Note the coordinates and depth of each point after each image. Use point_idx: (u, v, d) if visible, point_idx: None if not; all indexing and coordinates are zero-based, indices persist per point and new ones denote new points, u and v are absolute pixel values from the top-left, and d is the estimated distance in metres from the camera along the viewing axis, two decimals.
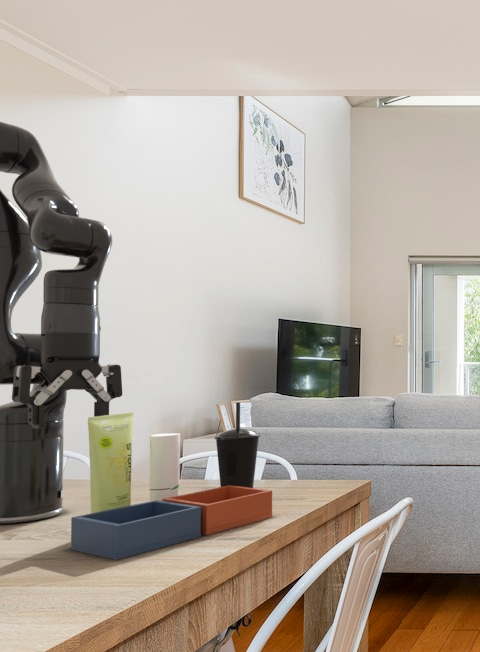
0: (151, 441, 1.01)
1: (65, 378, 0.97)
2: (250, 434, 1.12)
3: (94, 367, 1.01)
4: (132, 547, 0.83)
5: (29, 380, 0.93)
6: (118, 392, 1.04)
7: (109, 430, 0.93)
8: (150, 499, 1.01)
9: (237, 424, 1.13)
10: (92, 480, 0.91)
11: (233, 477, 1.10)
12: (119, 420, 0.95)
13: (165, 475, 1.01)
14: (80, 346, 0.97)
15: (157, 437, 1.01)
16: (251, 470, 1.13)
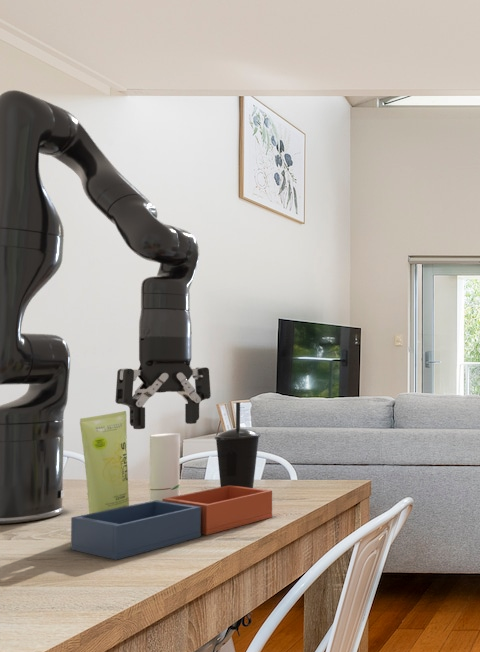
0: (151, 441, 1.01)
1: (162, 381, 1.01)
2: (250, 434, 1.12)
3: (186, 369, 1.05)
4: (132, 547, 0.83)
5: (132, 383, 0.97)
6: (207, 394, 1.08)
7: (102, 430, 0.92)
8: (150, 499, 1.01)
9: (237, 424, 1.13)
10: (88, 481, 0.91)
11: (233, 477, 1.10)
12: (112, 420, 0.94)
13: (165, 475, 1.01)
14: (176, 349, 1.01)
15: (157, 437, 1.01)
16: (251, 470, 1.13)
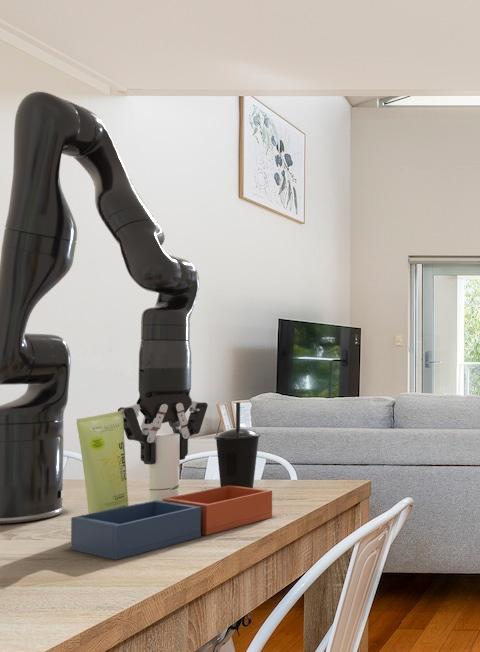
0: None
1: (164, 412, 1.01)
2: (250, 434, 1.12)
3: (186, 399, 1.05)
4: (132, 547, 0.83)
5: (136, 420, 0.98)
6: (196, 429, 1.06)
7: (99, 431, 0.92)
8: (150, 499, 1.01)
9: (237, 424, 1.13)
10: (87, 481, 0.91)
11: (233, 477, 1.10)
12: (109, 420, 0.94)
13: (165, 475, 1.01)
14: (176, 380, 1.01)
15: (157, 437, 1.01)
16: (251, 470, 1.13)
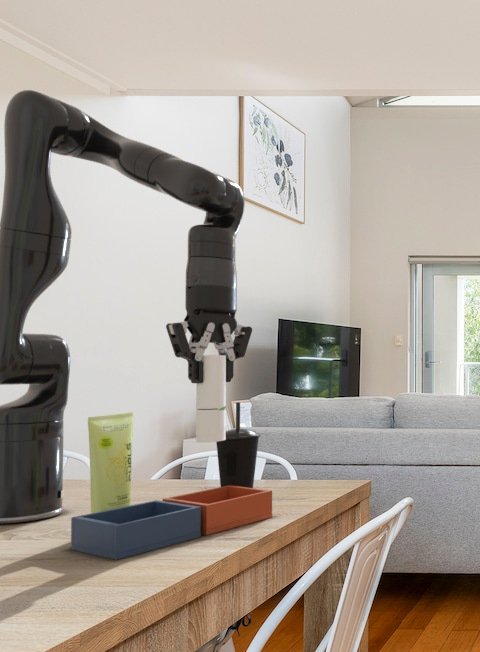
0: None
1: (211, 331, 0.99)
2: (250, 434, 1.12)
3: (231, 321, 1.04)
4: (132, 547, 0.83)
5: (184, 336, 0.96)
6: (242, 352, 1.05)
7: (109, 430, 0.93)
8: (197, 419, 0.99)
9: (237, 424, 1.13)
10: (92, 480, 0.91)
11: (233, 477, 1.10)
12: (119, 420, 0.95)
13: (212, 395, 0.99)
14: (223, 299, 1.00)
15: (204, 356, 0.99)
16: (251, 470, 1.13)
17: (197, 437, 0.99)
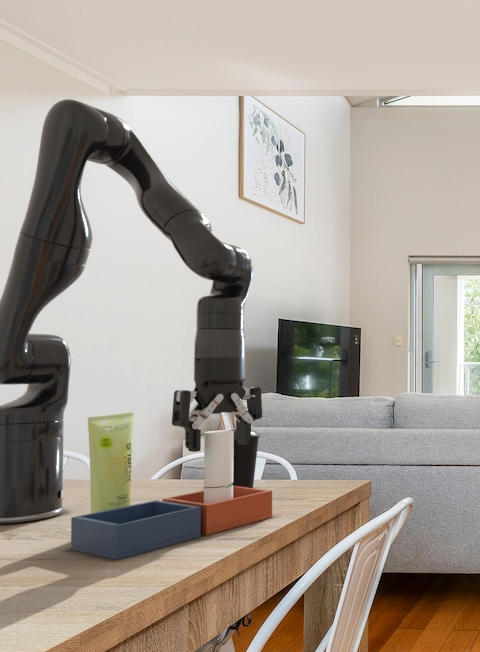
0: (206, 438, 0.99)
1: (218, 402, 0.99)
2: None
3: (240, 390, 1.03)
4: (132, 547, 0.83)
5: (188, 405, 0.95)
6: (259, 414, 1.06)
7: (109, 430, 0.93)
8: (205, 497, 0.99)
9: None
10: (92, 480, 0.91)
11: (233, 477, 1.10)
12: (119, 420, 0.95)
13: (220, 472, 0.99)
14: (232, 370, 0.99)
15: (212, 434, 0.99)
16: (251, 470, 1.13)
17: None
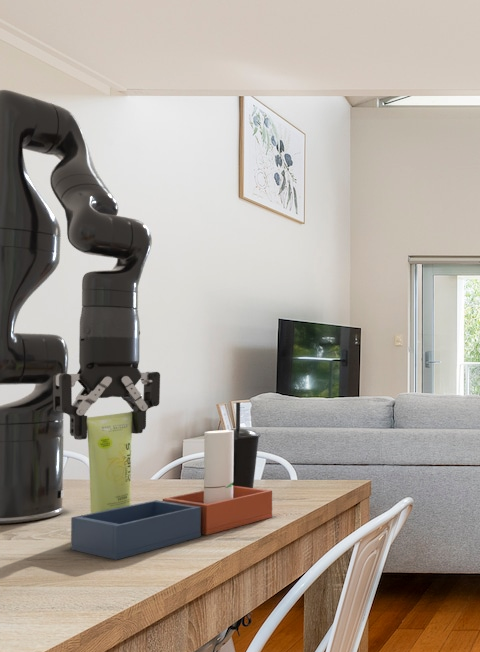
0: (206, 438, 0.99)
1: (105, 385, 0.92)
2: (250, 434, 1.12)
3: (134, 373, 0.96)
4: (132, 547, 0.83)
5: (70, 389, 0.88)
6: (155, 401, 0.99)
7: (108, 430, 0.93)
8: (205, 497, 0.99)
9: (237, 424, 1.13)
10: (91, 480, 0.91)
11: (233, 477, 1.10)
12: (118, 420, 0.95)
13: (220, 472, 0.99)
14: (120, 351, 0.92)
15: (212, 434, 0.99)
16: (251, 470, 1.13)
17: None
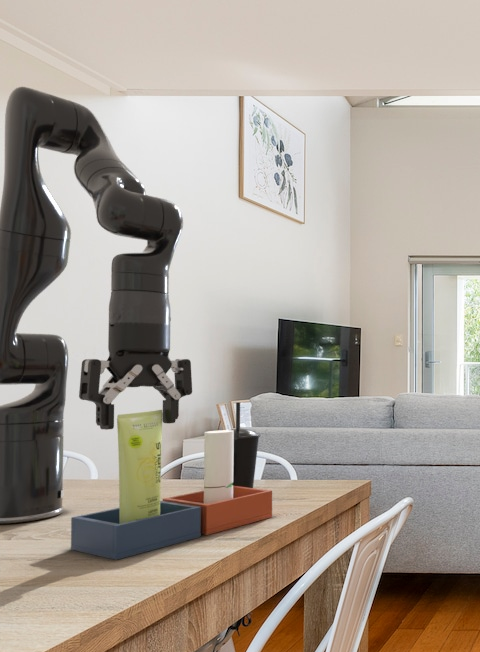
0: (206, 438, 0.99)
1: (135, 374, 0.87)
2: (250, 434, 1.12)
3: (164, 361, 0.92)
4: (132, 547, 0.83)
5: (98, 376, 0.83)
6: (188, 390, 0.95)
7: (139, 428, 0.88)
8: (205, 497, 0.99)
9: (237, 424, 1.13)
10: (121, 481, 0.87)
11: (233, 477, 1.10)
12: (148, 418, 0.90)
13: (220, 472, 0.99)
14: (152, 338, 0.88)
15: (212, 434, 0.99)
16: (251, 470, 1.13)
17: None
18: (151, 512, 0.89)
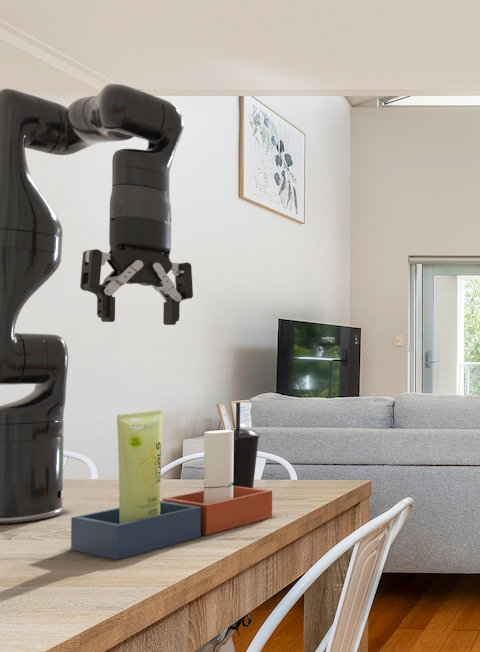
0: (206, 438, 0.99)
1: (136, 269, 0.87)
2: (250, 434, 1.12)
3: (165, 261, 0.92)
4: (132, 547, 0.83)
5: (99, 266, 0.84)
6: (188, 293, 0.95)
7: (139, 428, 0.88)
8: (205, 497, 0.99)
9: (237, 424, 1.13)
10: (121, 481, 0.87)
11: (233, 477, 1.10)
12: (148, 418, 0.90)
13: (220, 472, 0.99)
14: (153, 233, 0.88)
15: (212, 434, 0.99)
16: (251, 470, 1.13)
17: None
18: (151, 512, 0.89)
